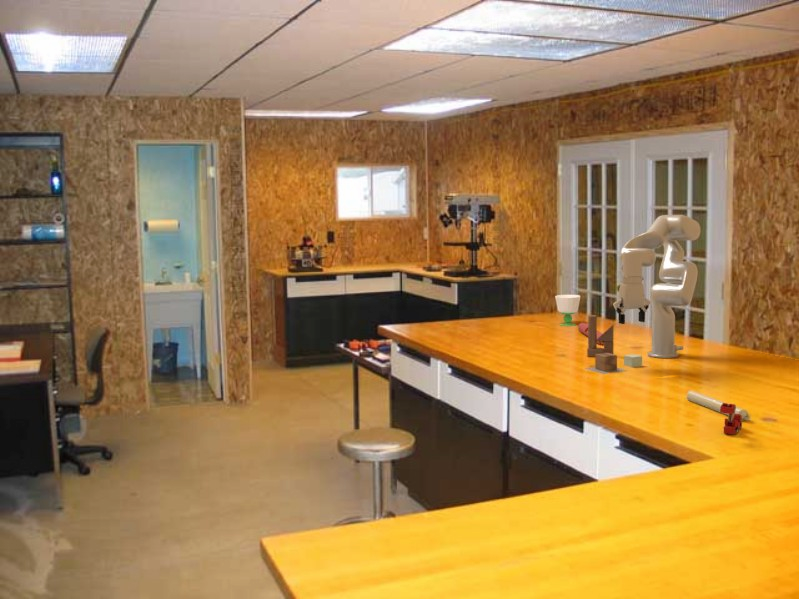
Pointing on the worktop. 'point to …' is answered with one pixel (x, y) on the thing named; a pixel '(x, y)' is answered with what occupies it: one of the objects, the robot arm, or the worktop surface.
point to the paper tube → (713, 404)
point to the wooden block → (592, 338)
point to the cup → (567, 307)
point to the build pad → (605, 371)
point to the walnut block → (606, 362)
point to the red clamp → (731, 419)
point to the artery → (584, 329)
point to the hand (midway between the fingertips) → (631, 322)
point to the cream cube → (632, 360)
